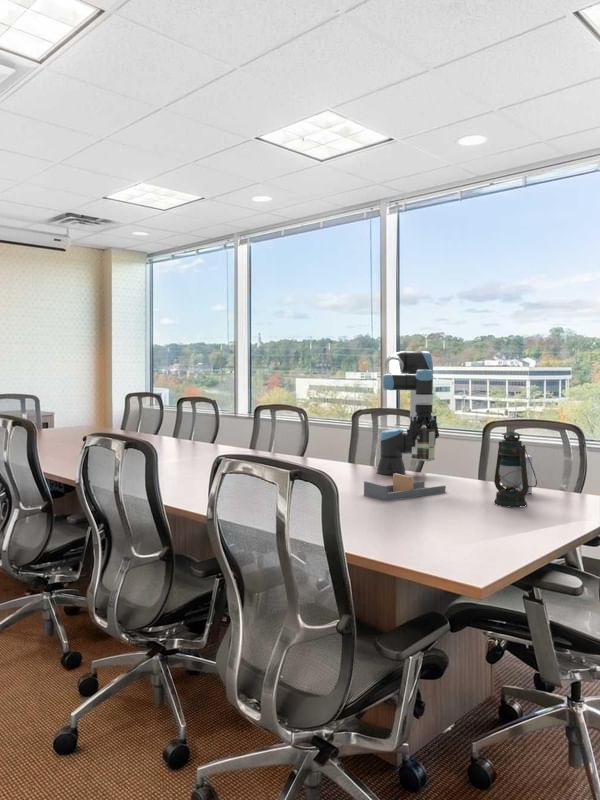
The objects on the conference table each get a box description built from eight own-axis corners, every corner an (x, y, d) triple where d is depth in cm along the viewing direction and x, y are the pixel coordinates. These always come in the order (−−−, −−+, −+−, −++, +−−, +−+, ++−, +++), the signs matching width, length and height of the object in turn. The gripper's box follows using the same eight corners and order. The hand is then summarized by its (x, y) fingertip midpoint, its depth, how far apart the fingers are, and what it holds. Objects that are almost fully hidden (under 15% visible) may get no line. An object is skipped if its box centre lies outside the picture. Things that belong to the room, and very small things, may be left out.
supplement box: (526, 490, 283) (527, 453, 282) (532, 494, 274) (533, 456, 273) (505, 489, 284) (506, 453, 283) (510, 493, 275) (510, 456, 274)
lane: (422, 487, 289) (422, 474, 289) (445, 492, 277) (445, 479, 277) (363, 495, 270) (364, 481, 269) (385, 500, 258) (385, 486, 257)
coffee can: (418, 461, 272) (418, 429, 271) (407, 458, 282) (407, 427, 281) (439, 460, 275) (439, 429, 274) (427, 457, 285) (428, 427, 284)
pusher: (395, 491, 278) (395, 473, 277) (413, 495, 268) (413, 477, 268) (392, 491, 277) (393, 473, 276) (410, 495, 267) (410, 477, 267)
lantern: (482, 500, 259) (483, 429, 258) (509, 498, 265) (511, 428, 263) (514, 510, 241) (515, 433, 240) (543, 507, 247) (544, 432, 245)
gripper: (435, 403, 287) (435, 450, 288) (399, 404, 274) (398, 454, 275) (447, 403, 280) (447, 452, 281) (411, 405, 268) (410, 456, 269)
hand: (423, 453), depth 278 cm, fingers closed on coffee can, 10 cm apart
